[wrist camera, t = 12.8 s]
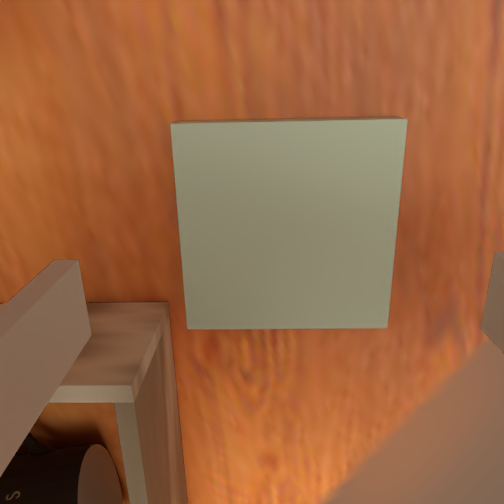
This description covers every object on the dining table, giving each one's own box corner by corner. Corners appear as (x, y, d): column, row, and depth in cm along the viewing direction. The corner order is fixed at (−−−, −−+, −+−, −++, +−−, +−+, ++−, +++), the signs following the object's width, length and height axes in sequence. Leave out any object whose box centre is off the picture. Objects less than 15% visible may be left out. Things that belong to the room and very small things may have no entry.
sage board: (191, 315, 24) (187, 329, 22) (176, 121, 20) (170, 123, 19) (379, 313, 24) (387, 328, 22) (397, 116, 20) (407, 118, 19)
